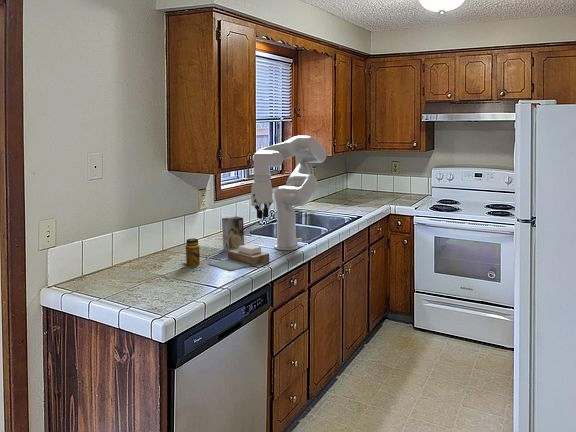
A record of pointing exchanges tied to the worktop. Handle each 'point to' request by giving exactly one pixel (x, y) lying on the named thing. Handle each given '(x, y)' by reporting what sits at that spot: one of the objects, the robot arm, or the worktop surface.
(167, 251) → the worktop surface
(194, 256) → the condiment
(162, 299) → the worktop surface
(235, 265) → the mat
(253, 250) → the tile
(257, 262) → the board
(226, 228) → the coffee box
